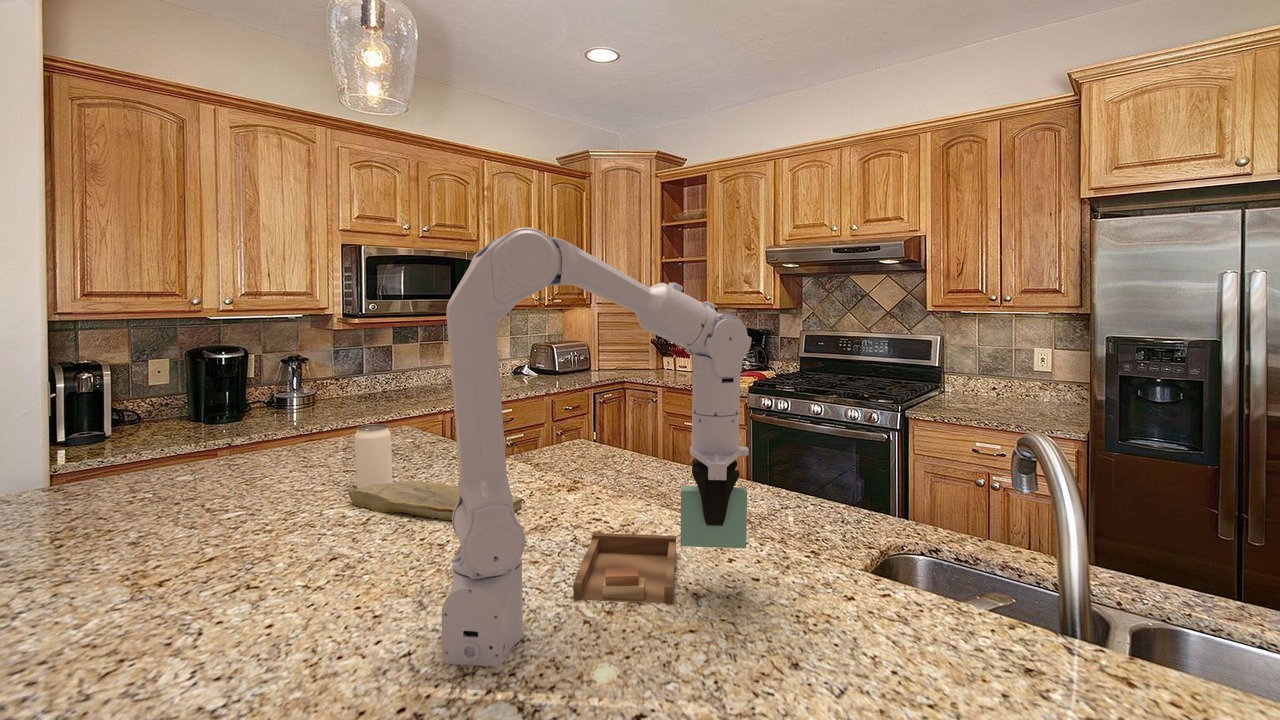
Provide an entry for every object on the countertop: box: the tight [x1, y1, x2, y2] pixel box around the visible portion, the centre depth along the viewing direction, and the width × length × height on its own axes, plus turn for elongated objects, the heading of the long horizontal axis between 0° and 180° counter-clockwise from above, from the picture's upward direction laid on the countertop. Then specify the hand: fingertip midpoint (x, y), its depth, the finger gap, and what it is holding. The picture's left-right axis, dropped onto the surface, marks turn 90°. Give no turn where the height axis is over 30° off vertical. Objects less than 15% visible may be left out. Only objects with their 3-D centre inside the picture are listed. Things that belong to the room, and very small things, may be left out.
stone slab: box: [347, 480, 523, 521], centre depth 112 cm, size 12×4×30 cm
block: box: [680, 485, 748, 549], centre depth 78 cm, size 2×8×7 cm, turn 85°
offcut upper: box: [606, 568, 639, 586], centre depth 77 cm, size 2×4×1 cm, turn 93°
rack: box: [572, 532, 677, 605], centre depth 83 cm, size 15×12×3 cm
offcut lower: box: [603, 577, 645, 600], centre depth 78 cm, size 2×5×2 cm, turn 85°
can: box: [354, 423, 393, 489], centre depth 123 cm, size 6×6×12 cm
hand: (714, 520), depth 78 cm, fingers closed on block, 2 cm apart
